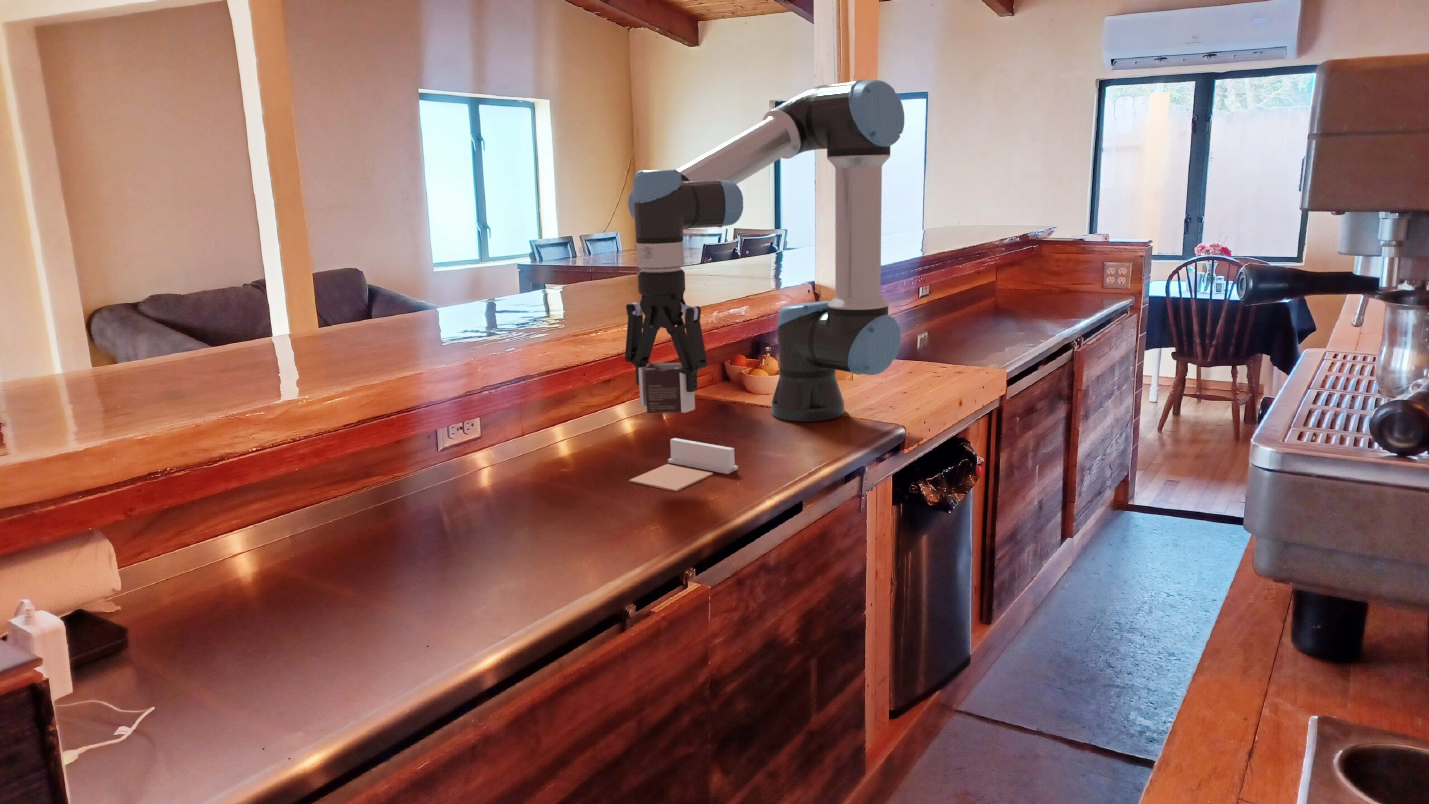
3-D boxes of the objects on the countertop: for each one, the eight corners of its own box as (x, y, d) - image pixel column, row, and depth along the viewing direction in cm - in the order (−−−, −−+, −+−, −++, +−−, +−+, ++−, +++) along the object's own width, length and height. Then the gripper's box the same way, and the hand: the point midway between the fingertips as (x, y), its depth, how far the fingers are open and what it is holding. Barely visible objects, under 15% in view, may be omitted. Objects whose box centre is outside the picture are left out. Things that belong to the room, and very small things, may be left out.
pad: (667, 465, 166) (667, 464, 165) (713, 474, 160) (712, 472, 160) (629, 481, 158) (629, 479, 158) (676, 491, 152) (676, 489, 152)
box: (688, 404, 158) (686, 362, 157) (683, 413, 153) (681, 369, 151) (652, 405, 159) (650, 362, 157) (646, 414, 153) (643, 369, 152)
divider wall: (678, 458, 170) (677, 436, 169) (737, 469, 162) (737, 446, 161) (668, 462, 167) (666, 440, 166) (727, 474, 160) (726, 451, 159)
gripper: (596, 269, 154) (605, 405, 159) (698, 273, 141) (704, 420, 147) (627, 265, 159) (634, 396, 165) (727, 268, 147) (732, 410, 153)
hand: (667, 407), depth 156 cm, fingers closed on box, 8 cm apart
